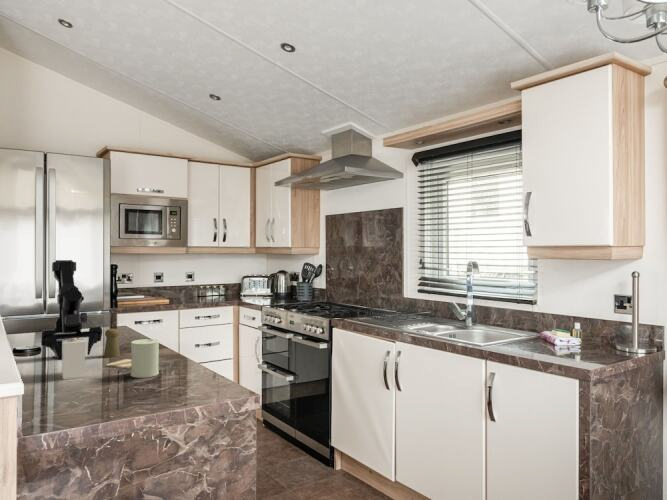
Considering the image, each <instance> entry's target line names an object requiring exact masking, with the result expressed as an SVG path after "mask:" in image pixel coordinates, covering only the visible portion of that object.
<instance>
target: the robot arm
mask: <svg viewBox="0 0 667 500" xmlns="http://www.w3.org/2000/svg"><path fill="white" fill-rule="evenodd" d="M51 271H52V273H53V277H54V279H55V280H56V281H57V283H58V286H57V287H58V294H57V296H56V297H57V305H58V319H57V320H56V322H55V324H54V327H53V328H52V329H43V330H42V331H41V336H40V338H41V339H40V343H41V346H43V347H46V348H49V349H50V350H51V351H52V352H53V353H54V355H52V357H51V358H53V359H58V360H62V340H70V338H77V339H85V338H88V340H87V352H86V353H87V356H90V353H91V351H92V348H93V346H94V345H95V344H97V343H98V342H100V341H102V337H103V335H102V334H103V328H102V327H101V326H89V329H88V331H87V330H86V331H82V330H83V324H84V323H85V324H87V322H88V313H87V312H81V313H80V309H81V306H82V305H81V303H83V301H84V300H85V297H84V296H83V293H82V292H81V291H80V289H79V287H78V286H76V285H75V282H74V281H75V280H74V275H75V272H77V262H76V261H73V260H72V259H65V260H63V259H60V260H59V259H55V261H53V262H52V263H51Z"/></svg>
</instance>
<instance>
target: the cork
mask: <svg viewBox="0 0 667 500" xmlns="http://www.w3.org/2000/svg"><path fill="white" fill-rule="evenodd" d="M119 335H120V331H119V329H117V328H108V329H106V330H105V337H106V340H105V345H104V353H103V358H107V359H109V358H110V359H112V358H114V359H115V358H118V357H121V352H120V344H119V338H118V337H119Z"/></svg>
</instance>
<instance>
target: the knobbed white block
mask: <svg viewBox="0 0 667 500" xmlns="http://www.w3.org/2000/svg"><path fill="white" fill-rule="evenodd" d="M84 339H85V338H78V339H77V338H70V340H62V359H61V377H62V380H72V379H80V378H85V377H86V340H84Z"/></svg>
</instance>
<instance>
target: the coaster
mask: <svg viewBox="0 0 667 500" xmlns="http://www.w3.org/2000/svg"><path fill="white" fill-rule="evenodd" d="M105 367H111V368H119V369H130V368H131V358H124V359H121V360H120V359H119V360H116V361H114V362H113V361H112V362H110V363H106V364H105Z"/></svg>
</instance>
